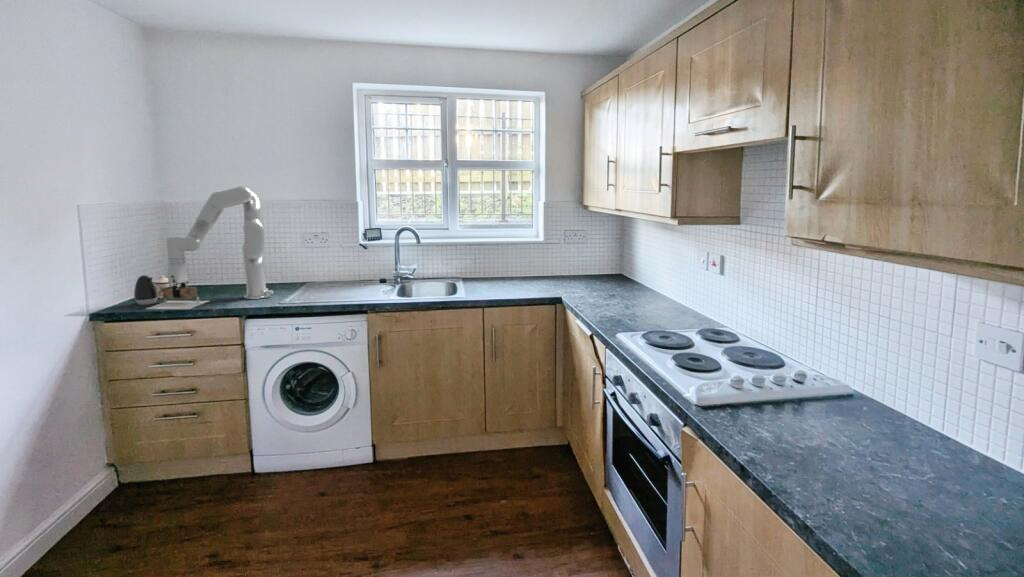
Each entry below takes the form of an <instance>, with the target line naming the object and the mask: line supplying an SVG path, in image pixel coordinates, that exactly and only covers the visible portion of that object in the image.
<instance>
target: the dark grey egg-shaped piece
mask: <svg viewBox="0 0 1024 577" xmlns="http://www.w3.org/2000/svg"><path fill="white" fill-rule="evenodd" d="M133 293H134V294H133V295H134V296H133V298H134V300H135V302H136V304H138V305H141V306H144V305H145V306H147V305H153V304H156V302H157V301H158V298H157V297H158V293H157V290H156V287H155V285H154V281H153V277H150V276H148V275H145V274H144V275H141V276H139V277H138V278H137V280H136V282H135V287H134V291H133Z"/></svg>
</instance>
